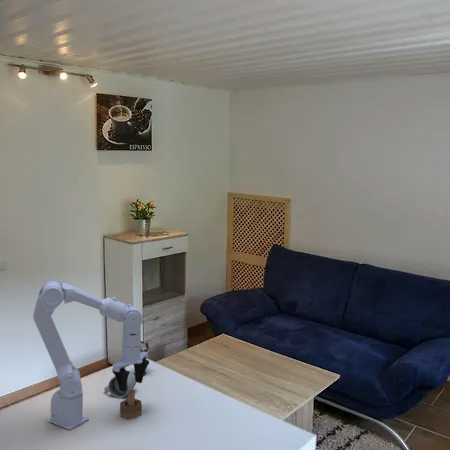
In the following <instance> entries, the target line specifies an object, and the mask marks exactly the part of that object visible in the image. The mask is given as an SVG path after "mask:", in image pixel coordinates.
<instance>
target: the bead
mask: <svg viewBox="0 0 450 450" xmlns="http://www.w3.org/2000/svg"><path fill="white" fill-rule="evenodd" d="M142 406H143V405H142V401H141V400H140V399H137V398H135V405H134V406H128V398H125V399H124V400H122V401H119V415H120V416H119V417H121V418H123V419H126V420H132V419H137V418H138V417H141V416H142V412H143V411H142V409H143V408H142Z"/></svg>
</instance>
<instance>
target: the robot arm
mask: <svg viewBox="0 0 450 450" xmlns="http://www.w3.org/2000/svg"><path fill="white" fill-rule="evenodd" d="M36 299H37V300H36V301H35V302H36V303H35V307H34V311H33V316H32V318H33V321H34V323H35V325H36V328H37V330H38V332H39V334H40V337H41V339H42V341H43V343H44V346H45V349H46V350H47V352H48V355H49V357H50V359H51V362H52V364H53V367H54V368H55V371H56V375H57V376H56V377H57V379H58V382H59V389H58V390H56V391H55V392H54V393H53V394H52V396H51V399H50V419H48V423H51V422H52V423H51V424H53V423H54V424H53V425H56V426H59V427H61V428H64V429H66V430H68V431H70V430H73V429H74V428H75V427H77V426H79V425H81V424H83V423H85V422H87V421H89V419H90V418H89V417H87V416H85V415H84V414H83V411H84V410H83V409H84V407H83V406H84V403H83V401H84V396H83V395H84V392H83V384H82V379H81V377H82V376H81V371H80V370H79V369H78V368H76V367H75V366H74V364H73V362H72V361H71V359H70V356H69V354H68V352H67V350H66V348H65V345H64V343H63V340H62V338H61V336H60V334H59V331H58V329H57V326H56V324H55V322H54V319H53V317H52V315H53V314H54V311H55V309H57V307H59V306H60V305H61V304H63V302H64V304H69V303H72V302H77V303H80V304H82V305H85V306H88V307H91V308H94V309H96V310H98V311H99V314H100V315H101V316H103V317H106V318H109V319H111V320H113V321H115V322H116V321H117V322H119V323H123V325H122V326H123V328H122V341H121V342H122V344H121V346H122V347H121V348H122V349H121V351H122V352H121V353H122V355H121V358H120V359H119V360H118V361H117V362H116V363H114V364H112V369H111V370H112V373H113V375H114V376H115V377H116V379H117V382H118V385H119V389H120V391H123V392H125V391H126V388H127V379H128V375H129V373H130V371H131V370H127V369H126V368H128V367H129V366H132V365H133V369H134V372H135V381H136V384H137V383H138V384H142V383H143V380H144V376H145V375H144V373H145V372H146V370H147V368H148V366H149V365H150V360H148V359H149V352H148V351H147V352H141V341H142V340H141V339H142V336H141V335H142V330H141V325H142V324H143V322H144V318H143V315H142V313H141V311H140V310H139V308H138V307H136V306H135V305H133V304H130V303H127V304H126V303H124V302H122V301H118V299H117V298H116V297H114V296H113V297H106V298H104V299H103V298H101V297H98V296H96V295H94V294H91V293H89V292H87V291H85V290H82V289H81V288H78V287H76V286H74V285H71V284H68V283H66V282H62V283H61V282H60V281H59V280H56V279H51V280H50V279H49V280H47V281H45V283H44V284H43V285H42V287H41V288H40V290H39V292H38V295H37V298H36ZM140 352H141V353H140Z"/></svg>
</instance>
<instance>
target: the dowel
mask: <svg viewBox="0 0 450 450" xmlns="http://www.w3.org/2000/svg"><path fill="white" fill-rule="evenodd" d="M135 392H136V391H135V389H132V390H129V391H128V394H127V399H128V406H134V405H135V399H136V395H135Z"/></svg>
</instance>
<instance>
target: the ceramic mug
mask: <svg viewBox="0 0 450 450" xmlns="http://www.w3.org/2000/svg"><path fill="white" fill-rule="evenodd" d="M129 371H130V373H129V375H128V379H127V388H126V391H125V392H123V391H120V389H119V385H118V382H117V379H116V377H115V375H114V376H113V377H111V379H110V380H109V381H108V385H107V386H105V387H104V388H103V390H104V392H105V393H110V394H111V396H113V397H114V398H116V399H122V398H125V397H126V396H128V391H129V390H134V388H135V387H136V385H137V382H136V381H135V375H134V372H132V371H131V370H129Z"/></svg>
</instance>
